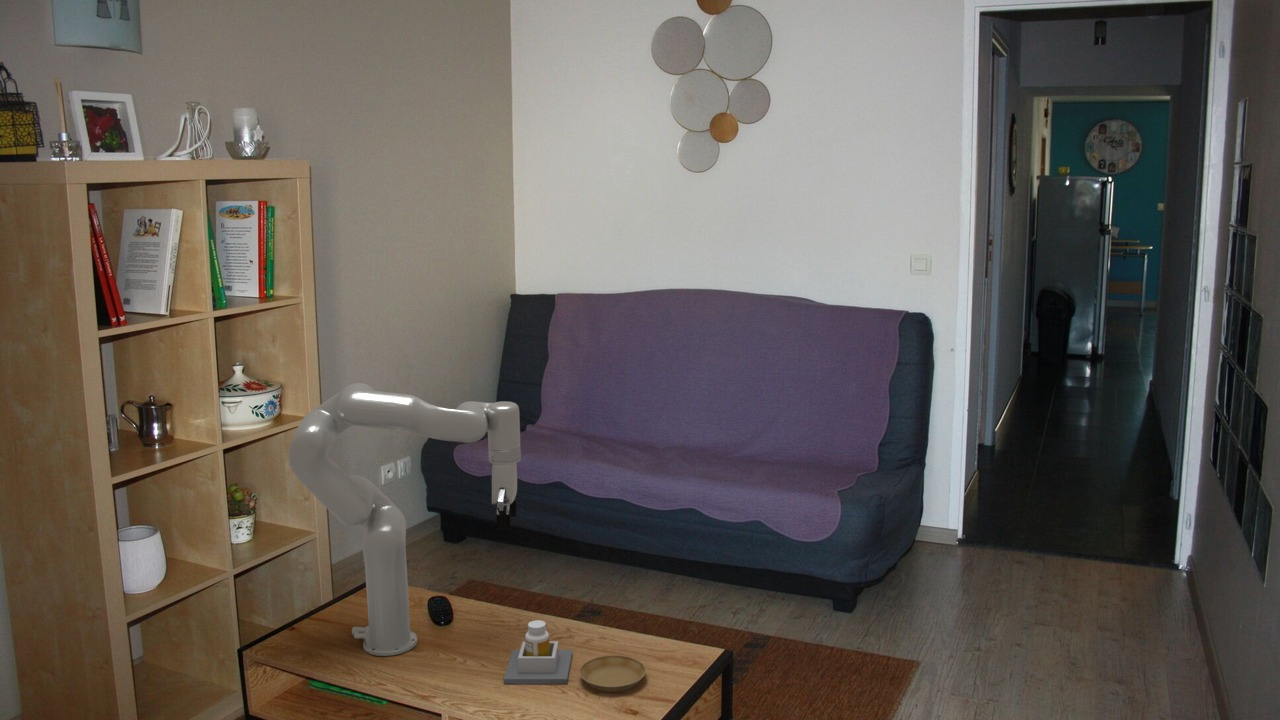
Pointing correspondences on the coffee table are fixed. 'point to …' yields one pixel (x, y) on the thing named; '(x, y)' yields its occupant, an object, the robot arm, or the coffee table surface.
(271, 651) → the coffee table surface
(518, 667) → the bottle holder
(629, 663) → the plant saucer
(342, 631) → the coffee table surface
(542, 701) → the coffee table surface
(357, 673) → the coffee table surface
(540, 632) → the supplement bottle
